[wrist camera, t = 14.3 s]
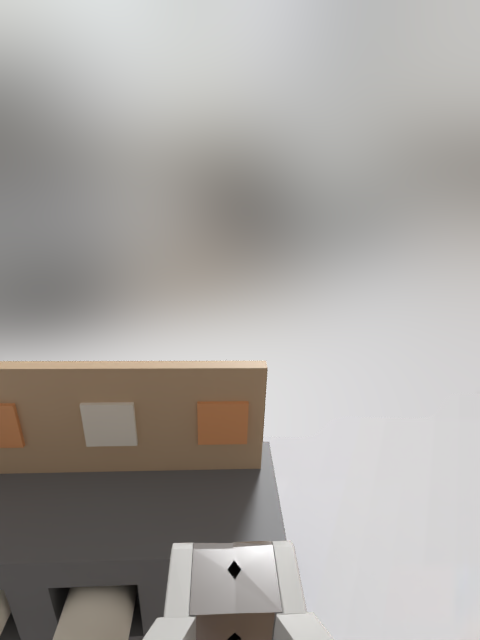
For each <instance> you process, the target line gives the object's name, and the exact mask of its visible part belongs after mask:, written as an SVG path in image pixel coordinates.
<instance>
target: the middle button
mask: <svg viewBox="0 0 480 640" xmlns="http://www.w3.org/2000/svg"><path fill="white" fill-rule="evenodd" d="M137 590H138V586H137V585H120V586H93V587H70V590H69V593H68V596H67V598H66V601H65V604H64V607H63V610H62V613H61V616H60V619H59V622H58V625H57V628H56V631H55V634H54V637H53V640H128V639H129V634H130V628H131V623H132V617H133V612H134V606H135V601H136V596H137Z"/></svg>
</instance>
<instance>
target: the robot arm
mask: <svg viewBox="0 0 480 640" xmlns="http://www.w3.org/2000/svg"><path fill="white" fill-rule="evenodd" d="M142 640H334V638H333V637H332V636H331V635H330V633H329V632H328V631H327V629H326V628H325V627H324V626H323V624H322V623H321V622H320V620H319V619H318V618H317V617H316V615H315V614H314V613H311V612H307V609H306V604H305V599H304V594H303V589H302V584H301V579H300V574H299V568H298V563H297V558H296V553H295V548H294V545H293V543H292V541H291V540H290V541H247V542H233V543H173V545H172V549H171V556H170V565H169V573H168V582H167V591H166V599H165V608H164V617H160V618H157V619H156V620H155V622H154V623H153V624H152V626H151V627H150V629H149V630H148V632H147V633H146V635H145V636H144V638H143V639H142Z"/></svg>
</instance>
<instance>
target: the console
mask: <svg viewBox="0 0 480 640" xmlns="http://www.w3.org/2000/svg"><path fill="white" fill-rule="evenodd" d="M266 382H267V364H266V361H29V362H28V361H13V362H12V361H6V362H5V361H3V362H2V361H0V590H4V592H5V595H6V598H7V601H8V604H9V607H10V610H11V613H10V615H9V618H8V620H7V622H6V624H5V626H4V629H3V631H2V633H1V635H0V640H53V637H54V634H55V631H56V628H57V625H58V622H59V619H60V616H61V613H62V610H63V607H64V604H65V601H66V598H67V596H68V593H69V590H70V587H93V586H120V585H137V586H138V590H137V596H136V601H135V606H134V612H133V617H132V623H131V628H130V634H129V639H128V640H142V639H143V638H144V636H145V635H146V633H147V632H148V630H149V629H150V627H151V626H152V624H153V623H154V622H155V620H156V619H157V618H160V617H164V608H165V599H166V591H167V582H168V573H169V565H170V556H171V549H172V545H173V543H233V542H247V541H287V540H286V535H285V529H284V523H283V518H282V512H281V507H280V501H279V495H278V490H277V484H276V478H275V473H274V467H273V462H272V456H271V450H270V445H269V442H263V428H264V413H265V397H266Z"/></svg>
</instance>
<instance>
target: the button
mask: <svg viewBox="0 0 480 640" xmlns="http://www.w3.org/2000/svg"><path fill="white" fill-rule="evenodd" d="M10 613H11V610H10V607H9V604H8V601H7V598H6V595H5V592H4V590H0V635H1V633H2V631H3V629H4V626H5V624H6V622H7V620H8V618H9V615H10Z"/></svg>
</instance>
